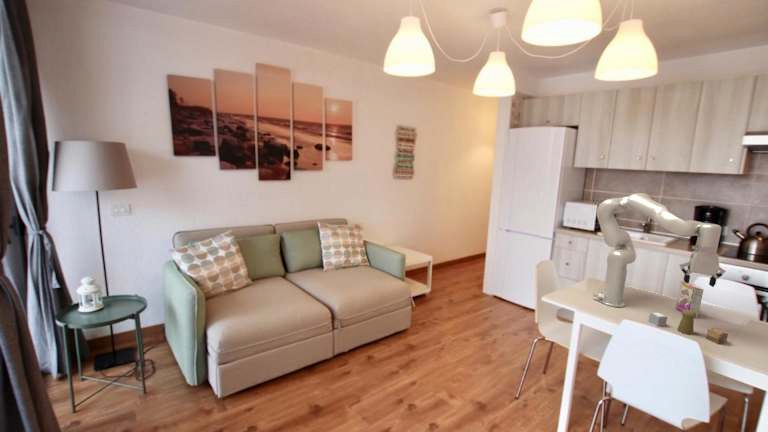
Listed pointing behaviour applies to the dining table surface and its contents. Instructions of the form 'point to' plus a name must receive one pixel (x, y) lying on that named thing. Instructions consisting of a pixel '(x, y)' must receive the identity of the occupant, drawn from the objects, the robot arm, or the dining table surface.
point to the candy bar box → (689, 297)
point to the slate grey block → (657, 319)
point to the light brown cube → (717, 336)
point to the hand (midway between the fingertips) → (698, 284)
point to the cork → (687, 322)
